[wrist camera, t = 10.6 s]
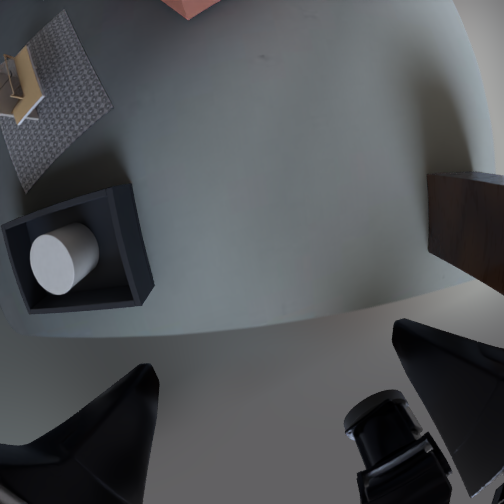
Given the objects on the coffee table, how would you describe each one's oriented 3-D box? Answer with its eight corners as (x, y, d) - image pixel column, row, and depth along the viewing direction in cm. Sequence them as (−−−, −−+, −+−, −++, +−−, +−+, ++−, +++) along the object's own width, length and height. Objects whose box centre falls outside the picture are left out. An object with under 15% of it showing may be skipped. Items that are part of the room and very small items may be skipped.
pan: (131, 183, 18) (112, 186, 15) (155, 285, 20) (142, 306, 17) (24, 217, 18) (0, 225, 14) (48, 298, 20) (29, 314, 17)
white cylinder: (86, 284, 19) (63, 306, 16) (51, 252, 18) (24, 268, 15) (108, 244, 19) (83, 261, 15) (69, 211, 18) (40, 221, 14)
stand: (473, 239, 21) (544, 272, 11) (428, 252, 21) (506, 297, 11) (473, 171, 19) (552, 185, 9) (426, 173, 19) (518, 188, 9)
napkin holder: (48, 55, 13) (-1, 32, 6) (68, 103, 15) (9, 86, 8) (24, 80, 14) (-28, 67, 7) (41, 130, 16) (-19, 126, 9)
